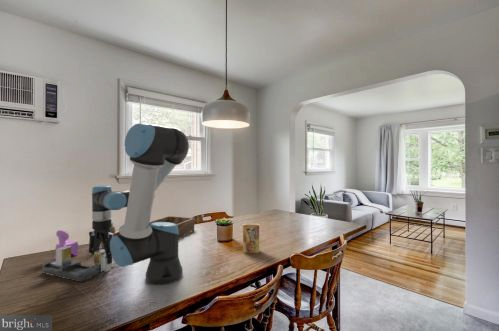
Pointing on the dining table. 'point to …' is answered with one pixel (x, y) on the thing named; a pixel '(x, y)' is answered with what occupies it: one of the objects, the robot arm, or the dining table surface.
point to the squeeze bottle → (112, 230)
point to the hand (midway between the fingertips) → (102, 269)
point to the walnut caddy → (179, 224)
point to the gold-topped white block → (101, 260)
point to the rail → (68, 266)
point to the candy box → (250, 238)
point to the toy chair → (62, 238)
